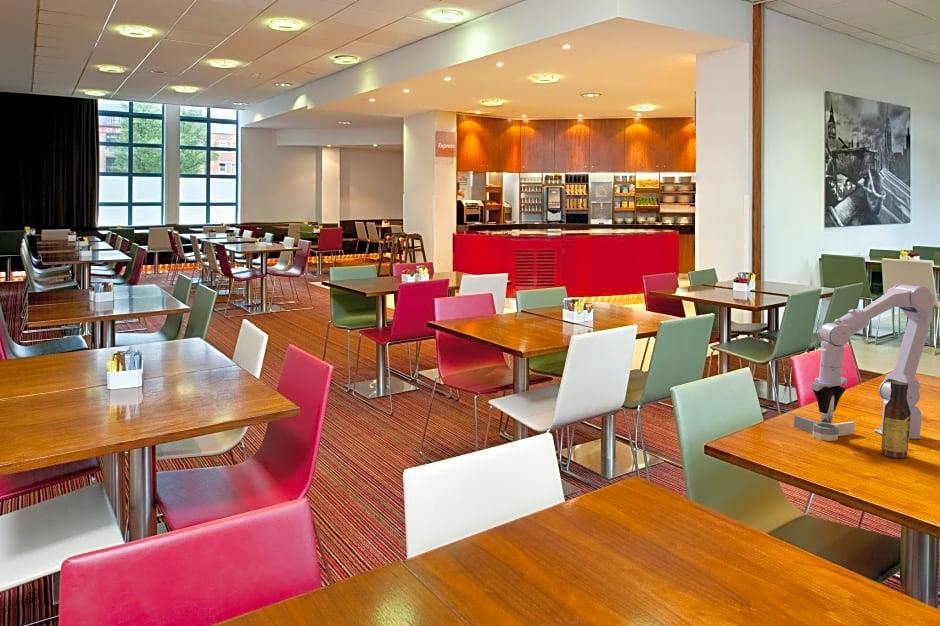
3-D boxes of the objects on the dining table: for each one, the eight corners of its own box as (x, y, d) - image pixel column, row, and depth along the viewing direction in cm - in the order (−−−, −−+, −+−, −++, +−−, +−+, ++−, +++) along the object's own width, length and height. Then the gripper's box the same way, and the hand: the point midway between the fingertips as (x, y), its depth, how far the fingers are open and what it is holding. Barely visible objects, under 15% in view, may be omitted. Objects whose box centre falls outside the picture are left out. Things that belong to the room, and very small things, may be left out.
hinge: (826, 441, 205) (827, 429, 205) (786, 427, 218) (787, 416, 218) (862, 436, 211) (863, 424, 210) (821, 423, 224) (822, 412, 223)
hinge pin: (828, 420, 210) (831, 393, 209) (834, 423, 207) (837, 395, 206) (818, 420, 210) (821, 393, 209) (824, 423, 207) (827, 396, 206)
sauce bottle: (911, 460, 191) (918, 386, 188) (885, 458, 192) (892, 385, 189) (901, 452, 197) (908, 380, 194) (876, 450, 198) (883, 379, 195)
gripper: (832, 360, 214) (828, 405, 215) (802, 365, 206) (799, 411, 208) (855, 365, 208) (851, 411, 210) (826, 370, 200) (822, 418, 202)
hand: (827, 411), depth 208 cm, fingers closed on hinge pin, 3 cm apart
